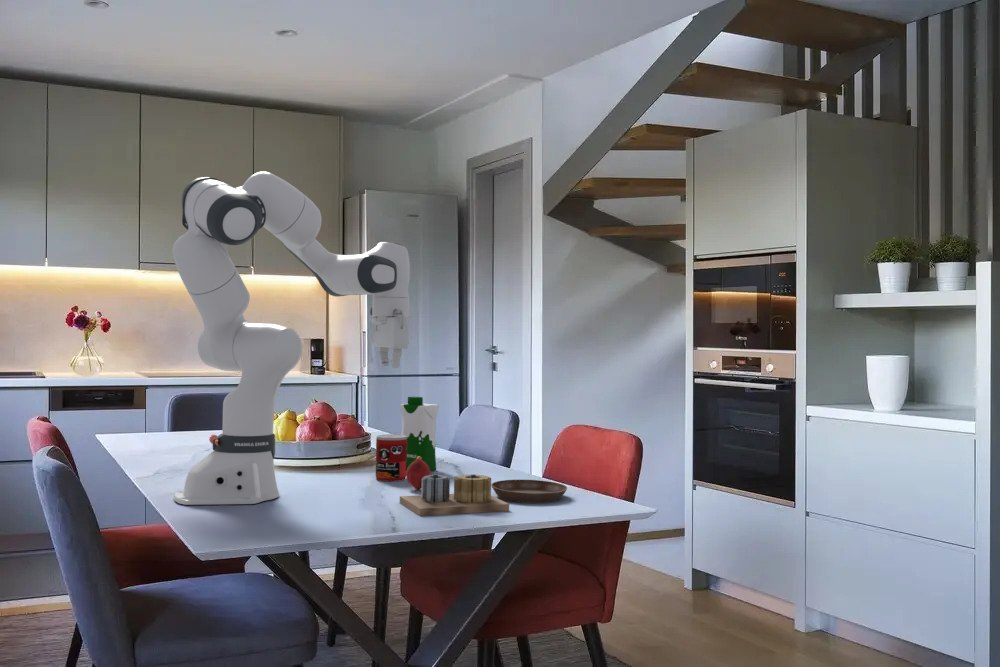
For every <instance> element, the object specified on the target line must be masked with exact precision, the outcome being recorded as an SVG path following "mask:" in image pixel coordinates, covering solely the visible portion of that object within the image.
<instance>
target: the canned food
mask: <svg viewBox="0 0 1000 667" xmlns="http://www.w3.org/2000/svg"><path fill="white" fill-rule="evenodd" d="M406 468H407V436H405V435H402V434H393V433H392V434H391V433H389V434H380V435H379V434H377V435H376V439H375V479H376V480H377V481H380V480H381V481H382V482H401V481H405V480H406V479H407V476H406V472H407V471H406ZM381 481H380V482H381Z"/></svg>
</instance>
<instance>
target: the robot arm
mask: <svg viewBox="0 0 1000 667" xmlns="http://www.w3.org/2000/svg"><path fill="white" fill-rule="evenodd" d="M181 209H182V215H181V222H182V226H183V227H184V228H185V229H186V230H187V231H186V232H185V233H184V234H182V235H180V236H179V237H178V239H176V241H174V244H173V246H172V251H171V252H172V257H173V261H174V265H175V267H176V270H177V272H178V274H179V276H180V279H181V281H182V284H183V285H184V286H185V288H186V290H187V292H188V294H189V295H190V297H191V299H192V301H193V303H194V305H195V307H196V308H197V310H198V312H199V314H200V316H201V319H202V323H203V330H202V331H201V334H200V335H199V338H198V342H197V351H198V355H199V357H200V358H199V359H200V360H201V361H202V362H203V364H205V365H206V366H208V367H211V368H214V369H218V370H221V371H224V372H225V371H226V372H241V377H240V379H239V380H240V381H239V383H238V385H237V386H236V388H235V389H234V390H232V391H231V392H229V393H228V394H227V395H226V396H225V397H224V399H223V403H222V428H221V429H222V433H220V434H218V435H217V434H215V433H214V434H211V435H210V436H209V437H208V438H209V442H210V444H212V452H210V453H209V454H207V455H206V456H205V457H204V458H202V459H201V460H199V461H198V462H197V463H196V464H194V465H193V466H192V467H191V468H190V469H189V471H188V472H187V475H186V478H185V482H184V489H182V490H178V491H176V492H175V493H174V498H173V500H174V502H176V503H178V504H180V505H181V504H182V505H186V506H187V505H190V506H192V505H193V506H194V505H195V506H198V505H199V506H200V505H202V506H203V505H254V504H258V503H261V502H264V501H271V500H274V499H277V498H279V497H280V493H279V489H278V485H277V484H278V483H277V480H276V473H275V472H276V471H275V462H274V460H275V456H276V434H275V433H274V422H275V421H274V420H275V419H274V417H275V415H274V414H275V407H276V406H275V404H276V403H275V402H276V398H277V394H278V392H279V388H280V386H281V384H282V382H283V380H284V379H285V377H286V376H287V375H288V374H289V373H290V372H291V370H293V369H294V368H295V367H297V365H298V363H299V362H300V360H301V357H302V354H303V343H302V339H301V337H300V336H299V334H298V332H297V331H296V330H295V329H293V328H291V327H288V326H285V325H282V324H277V323H264V322H263V323H260V322H257V323H256V322H249V321H248V320H247V319H246V317H245V316H244V313H245V312H246V310H247V308H248V307H249V303H250V301H251V300H250V298H251V297H250V292H249V290H248V288H247V286H246V284H245V283H244V280H243V279H242V277H241V275H240V273H239V272H238V269H237V267H236V266H235V263H234V262H233V260H232V259H231V257H230V255H229V254H230V253H229V251H228V246H238V245H244V244H245V243H247V242H248V241H251V239H252V238H253V237H254V236H256V234H257V233H258V231H259V230H260V229H261V228H264V229H265V230H266V231H268V232H270V234H272V235H273V236H274V237H276V238H277V239H278V240H280V242H281V244H282V245H283V247H284V248H285V249H286V250H287V251H288V252H289V253H290V254H291V255H292V256H294V257H295V258H296V260H298V261H299V262H300V263H301V264H302V265H303V266H304V267H306V268H307V269H308V270H309V271H310V272H311V273H312V274H313V275H314V277H315V278H316V279H317V281H318V283H319V285H320V287H321V288H322V289H323V291H325V293H326V294H328V295H330V296H333V297H344V296H345V297H346V296H363V295H364V296H366V295H368V296H369V295H370V296H371V295H372V306H370V308H369V317H370V318H372V319H371V335H372V336H371V338H372V344H373V346H374V347H377V348H378V354H379V359H380V363H379V364H380V366H381V367H388V366H390V367H391V368H393V369H399V368H400V367H401V366H400V363H401V362H400V361H401V357H402V354H403V353H402V352H403V350H404V349H405V350H406V349H408V347H409V344H410V343H409V341H410V335H409V321H408V318H409V317H410V294H409V284H410V279H411V271H410V270H411V264H410V254H409V252H408V251H409V250H408V248H406V246H404V245H403V244H400V243H398V242H392V241H380V242H378V243H377V244H376V245H375V246H374V247H373V248H372V249H370V250H368V251H365V252H363V253H358V254H336V253H333V252H330V251H329V250H328V249H326V247H324V245H322V244H321V243H320V242H319V241H318V240H317V239H316V238H317V236H318V234H319V232H320V230H321V226H322V213H321V211H320V209H319V207H318V206H317V205H316V204H315V203H314V202H313V200H311V199H310V198H309V197H308V196H307V195H306V194H304V193H303V192H301V191H300V190H299V189H298V188H297V187H295V186H293V185H292V184H291V183H289V182H288V181H287V180H285V179H283V178H281V177H279V176H278V175H275V174H273V173H271V172H268V171H258V172H256V173H254V174H252V175H250V176H249V177H248V178H247V179H246V181H245V182H244V183H243V185H241V186H238V187H233V186H231V185H230V184H228V183H225V182H223V181H222V180H221V179H219V178H215V177H210V176H204V177H203V176H202V177H197V178H195V179H194V180H191V181H190V182H189V183H188V184H187V185H186V186H185V188H184V189H183V192H182V195H181ZM390 349H391V360H390V359H389V350H390Z"/></svg>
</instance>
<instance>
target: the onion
mask: <svg viewBox="0 0 1000 667" xmlns="http://www.w3.org/2000/svg"><path fill="white" fill-rule="evenodd" d="M429 475H432V474H431V471H430V469H429V467H428V465H427V464H426V463H425V462H424V461H422V457H420V456H418V457H417V458H416V460H415V461H414V462H412V463H411V464H410V465H409V467H408V468H407V471H406V480H407V482H408V484H409V485H410V486H411V487H413V489H415V490H418V491H419V490H421V489H422V478H423V477H424V476H429Z"/></svg>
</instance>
